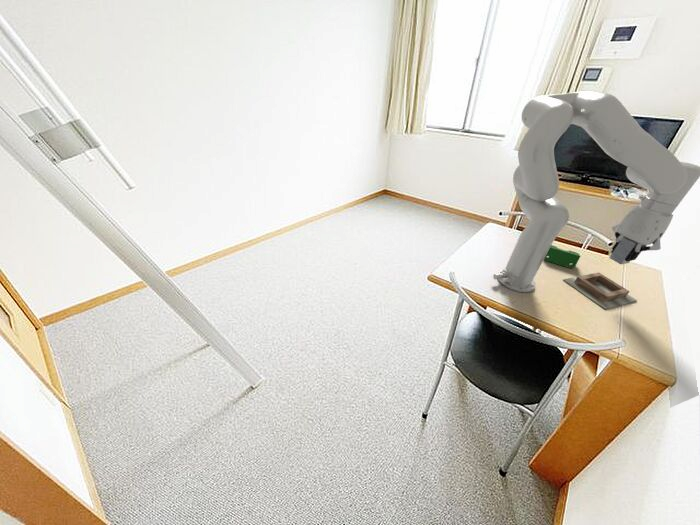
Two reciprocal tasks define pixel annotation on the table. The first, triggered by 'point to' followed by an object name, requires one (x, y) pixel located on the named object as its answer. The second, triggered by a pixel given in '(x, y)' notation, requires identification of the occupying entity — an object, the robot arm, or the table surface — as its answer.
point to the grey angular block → (623, 250)
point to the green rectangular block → (562, 257)
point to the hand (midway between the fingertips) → (621, 256)
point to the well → (601, 290)
